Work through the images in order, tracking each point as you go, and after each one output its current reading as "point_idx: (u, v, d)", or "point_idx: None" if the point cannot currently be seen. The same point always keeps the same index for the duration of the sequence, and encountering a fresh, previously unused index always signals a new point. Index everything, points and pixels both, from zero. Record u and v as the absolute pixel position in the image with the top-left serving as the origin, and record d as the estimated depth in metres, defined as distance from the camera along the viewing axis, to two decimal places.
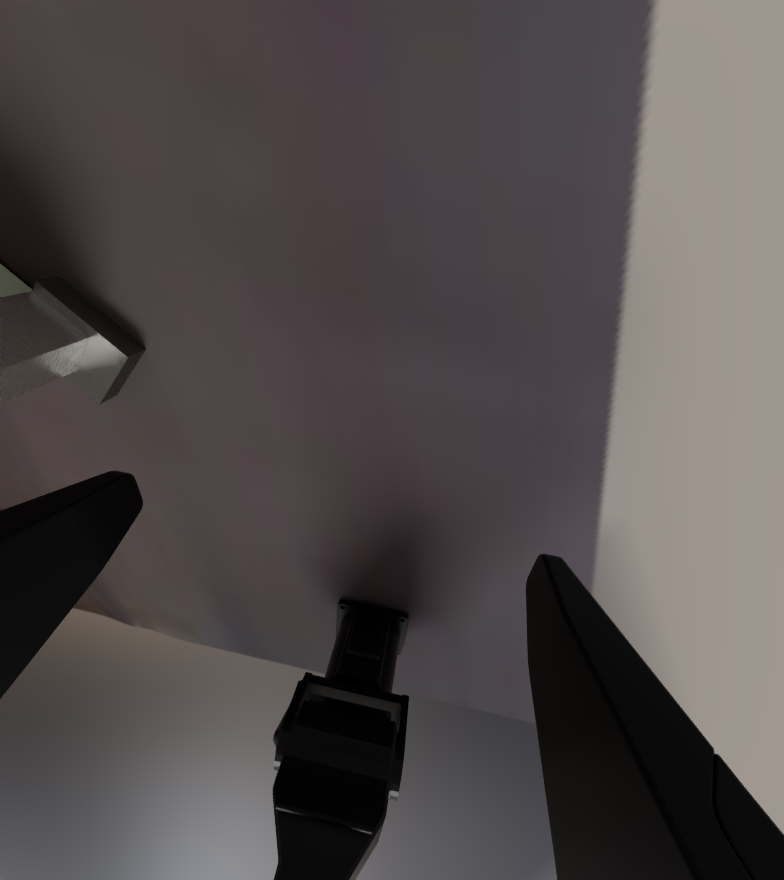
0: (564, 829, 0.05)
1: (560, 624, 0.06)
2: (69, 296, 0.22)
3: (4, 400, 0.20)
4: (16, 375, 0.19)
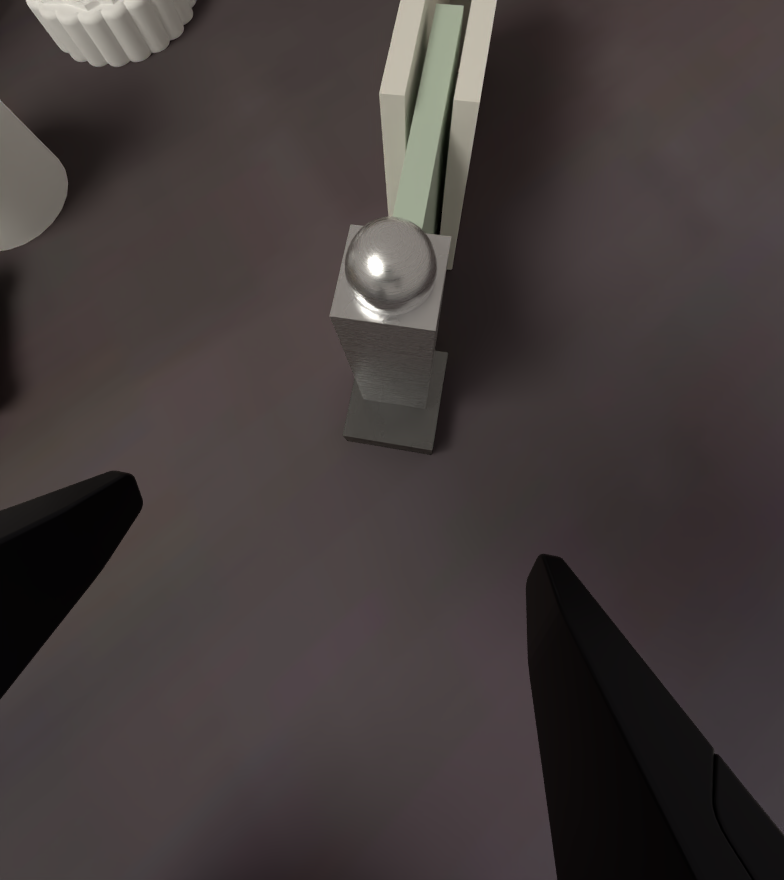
0: (564, 829, 0.05)
1: (560, 624, 0.06)
2: None
3: (357, 372, 0.17)
4: (404, 380, 0.17)
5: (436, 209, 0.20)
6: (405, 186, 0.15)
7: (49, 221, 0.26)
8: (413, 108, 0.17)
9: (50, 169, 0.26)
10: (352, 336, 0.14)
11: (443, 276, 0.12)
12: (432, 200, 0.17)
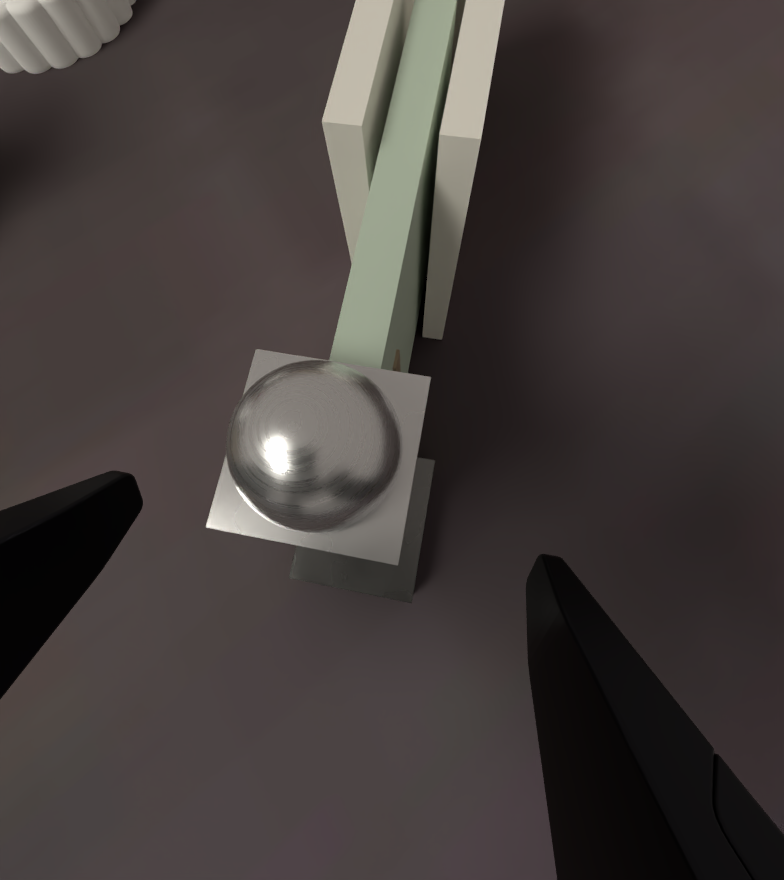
0: (564, 829, 0.05)
1: (560, 624, 0.06)
2: None
3: None
4: None
5: (419, 272, 0.15)
6: (361, 268, 0.09)
7: None
8: None
9: None
10: None
11: (415, 455, 0.07)
12: (409, 276, 0.11)
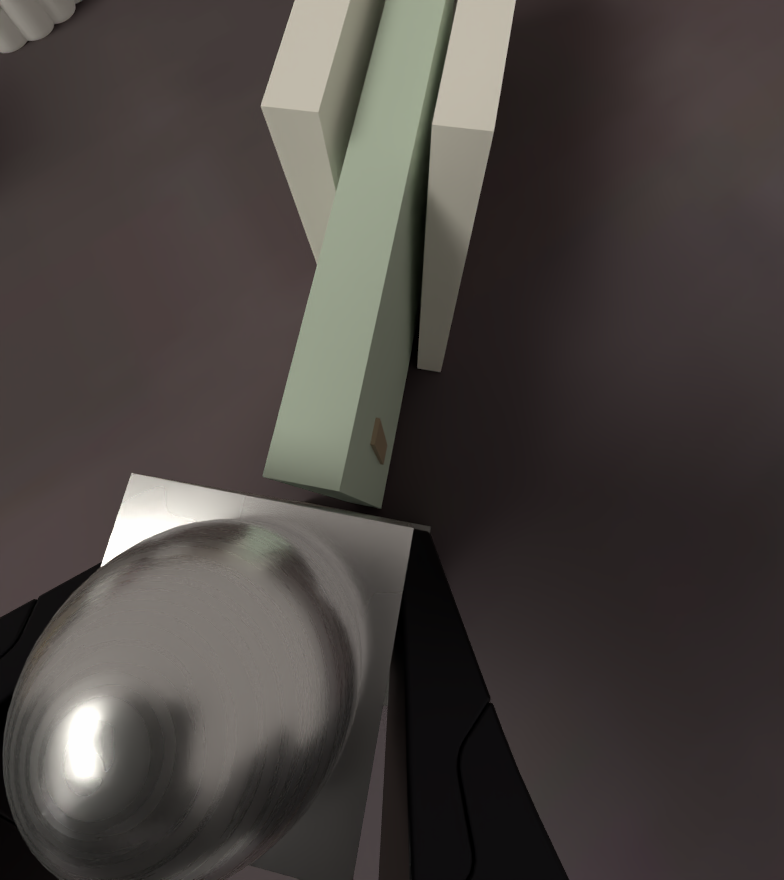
0: (386, 785, 0.06)
1: None
2: None
3: None
4: None
5: (412, 299, 0.12)
6: (317, 322, 0.06)
7: None
8: None
9: None
10: None
11: (384, 675, 0.04)
12: (394, 318, 0.08)
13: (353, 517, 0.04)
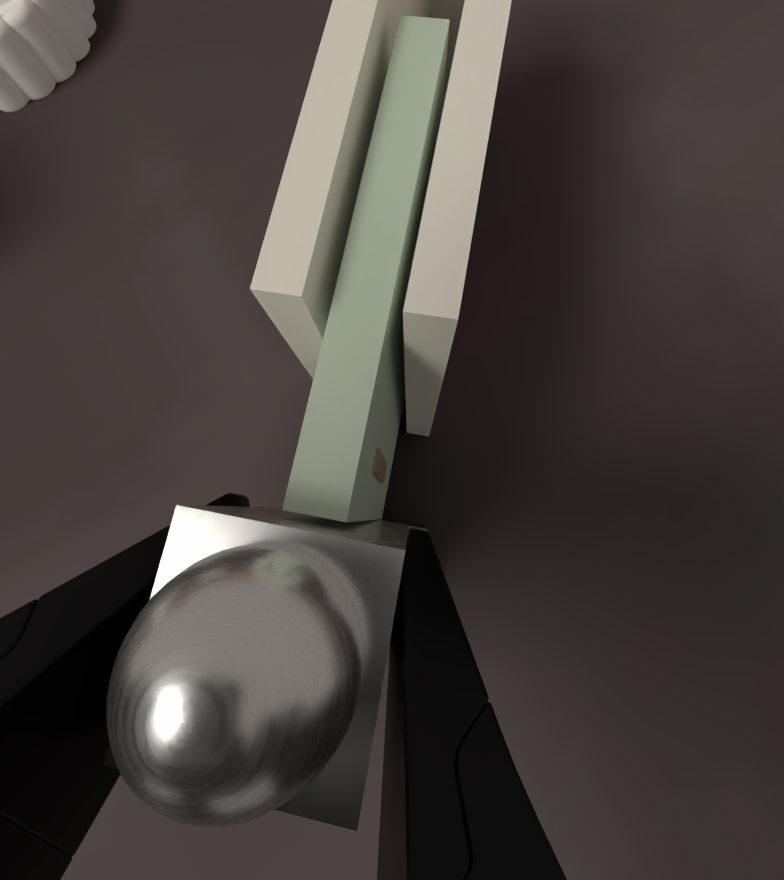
0: (384, 784, 0.06)
1: (400, 591, 0.06)
2: None
3: None
4: None
5: None
6: (326, 378, 0.07)
7: None
8: None
9: None
10: None
11: (382, 667, 0.05)
12: (392, 360, 0.09)
13: (357, 541, 0.05)
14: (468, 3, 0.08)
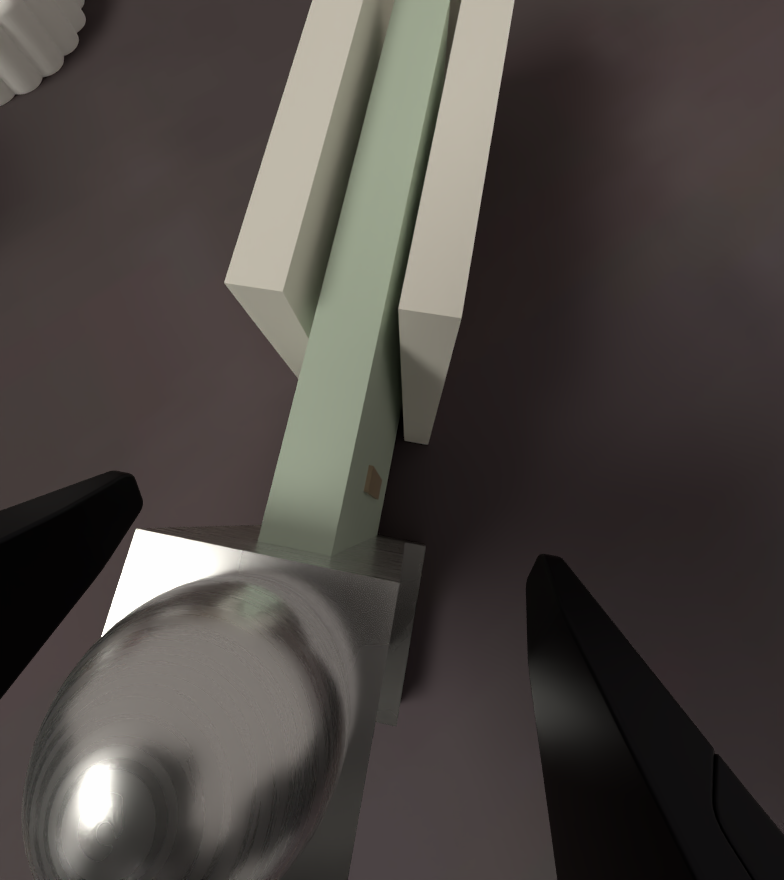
0: (564, 829, 0.05)
1: (560, 624, 0.06)
2: None
3: None
4: None
5: None
6: (310, 388, 0.06)
7: None
8: None
9: None
10: None
11: (371, 724, 0.04)
12: (386, 367, 0.09)
13: (343, 572, 0.05)
14: None
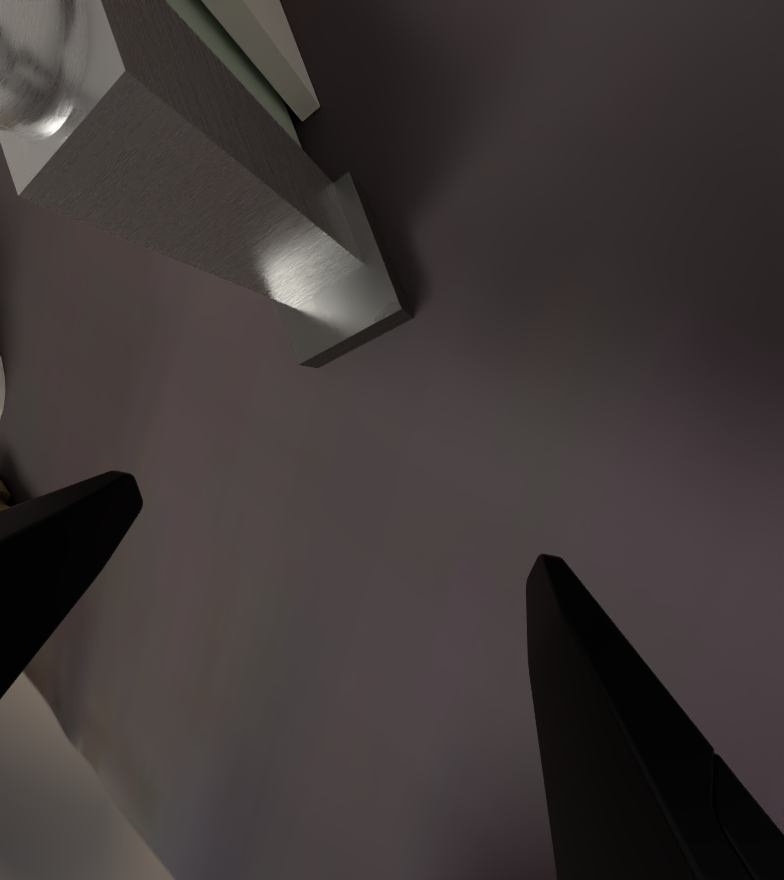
0: (564, 829, 0.05)
1: (560, 624, 0.06)
2: (368, 210, 0.15)
3: (219, 271, 0.12)
4: (273, 236, 0.11)
5: None
6: None
7: (1, 377, 0.26)
8: None
9: None
10: (103, 210, 0.08)
11: None
12: None
13: None
14: None
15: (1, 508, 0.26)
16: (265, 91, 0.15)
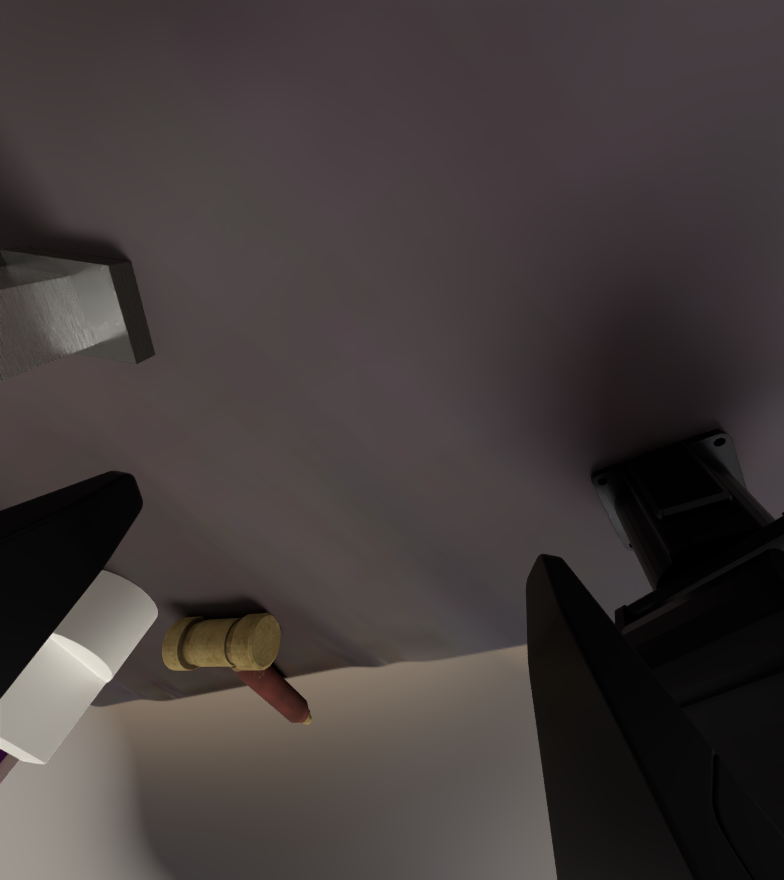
0: (564, 829, 0.05)
1: (560, 624, 0.06)
2: (37, 251, 0.19)
3: (16, 369, 0.17)
4: None
5: None
6: None
7: (116, 577, 0.36)
8: None
9: None
10: None
11: None
12: None
13: None
14: None
15: (203, 623, 0.36)
16: None
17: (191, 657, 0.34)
